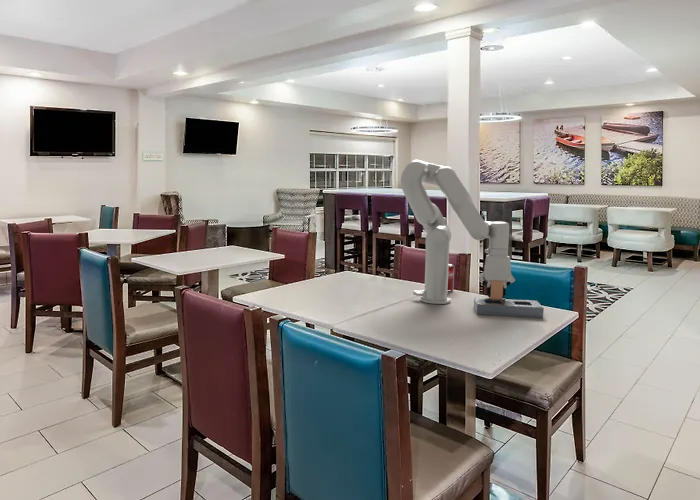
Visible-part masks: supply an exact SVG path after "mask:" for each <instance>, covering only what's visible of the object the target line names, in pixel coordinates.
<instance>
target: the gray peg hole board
mask: <svg viewBox="0 0 700 500" xmlns="http://www.w3.org/2000/svg"><path fill="white" fill-rule="evenodd" d="M473 309H474V311H475V314H476V316H477V315H479V316H497V317H498V316H499V317H511V318H512V317H514V318H515V317H517V318H529V317H535V318H534V319H544V309H545V308H544V306H543V305H541V303H540V302H539V301H538V300H529V299H512V298H511V299H510V298H508V299H507V298H506V299H505V298H502V299H492V298H489V297H487V298H486V297H473Z"/></svg>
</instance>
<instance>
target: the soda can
mask: <svg viewBox="0 0 700 500" xmlns="http://www.w3.org/2000/svg"><path fill="white" fill-rule="evenodd" d="M454 280H455V265H454V264H451V263H449V267H448V290H453V291H454V285H455V283H454V282H455V281H454Z"/></svg>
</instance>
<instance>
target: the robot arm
mask: <svg viewBox="0 0 700 500" xmlns="http://www.w3.org/2000/svg"><path fill="white" fill-rule="evenodd" d="M423 183H426V184H430V185H434V186H438V188H439V190H440V191H441V193H442V194H443V195H444V197H445V198H446V200H447V202H448V203H449V205H450V206H451V208H452V209H453V211H454V212H455V214H456V215H457V217H458V218H459V220H460V221H461V224H462V225H463V226H464V228H465V229H466V230H467V232H468V234H469V235H470V236H471V238H472V239H474V240H475V241H484V240H485V239H488V248H485V249H484V253H485V254H486V253H487V254H486V257H485V262H484V268H483V272H482V273H481V274H480V275H479V276H478V280H479V281H480V282H481V283H483V285H485V287H486V295H487V298H489V297H490V295H491V287H490V284H491V281H503V297H502V299H505V296H506V291H507V290H506V289H507V287H509V286H511V284H512V283H514V282H516V279H515V277H514V276H513V274H512V270H511V269H512V268H511V266H512V265H511V256H509V244H510V242H509V237H510V223H509V222H506V221H488V220H487V221H486V220H485V219H484V218H483V216H482V215H481V214H480V212H479V210H478V209H477V207H476V205H475V204H474V202H473V201H474V200H473V199H472V196H471V195H470V193H469V192H468V190H467V189H466V187H465V186H464V184H463V182H462V181H461V180H460V178H459V177H458V175H457V173H456V171H455V170H454V169H453V168H452V167H450V166H446V165H445V166H444V165H438V164H435V163H431V162H430V163H429V162H427V161H423V160H419V159H414V160H411V161H410V162H408V164H406V166H405V167H404V169H403V171H402V173H401V177H400V186H401V189H402V193H403V194H404V197H405V198H406V200H407V203H408V204H409V205H408V206H409V207H410V209H411V211H412V213H413V215H414V218H415V219H416V222H418V223H419V225H422V227H423V229H424V231H425V232H426V236H425V262H424V263H425V266H424V267H425V268H424V288H423V289H422V290H413V296H416V297H417V296H418V297H419V296H420V301H421V302H423V303H425V304H432V305H443V304H449V303H451V302H452V299H451V298H450V297H448V292H447V290H448V267H449V264H450V262H449V261H450V242H451V240H452V232H451V230H450V227H449V226H448V224H447V222H446V220H445V218H444V216H443V214H442V212H441V211H440V208H439V207H438V206H437V205H436V204H435V203H433V202H432V201H431V199H430V197H429V196H428V193H427V191H426V189H425V188H424V186H423Z"/></svg>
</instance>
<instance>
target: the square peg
mask: <svg viewBox="0 0 700 500" xmlns="http://www.w3.org/2000/svg"><path fill="white" fill-rule="evenodd" d="M490 287H491V295H490V297H488V298H492V299H503V298H502V297H503V281H491V284H490Z"/></svg>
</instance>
